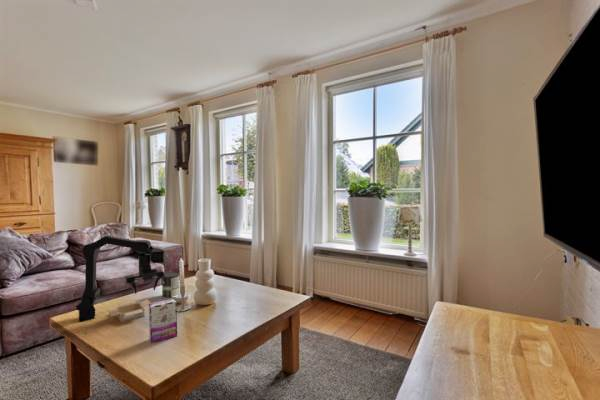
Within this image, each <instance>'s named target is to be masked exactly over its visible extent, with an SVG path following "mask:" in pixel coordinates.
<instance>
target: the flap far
mask: <svg viewBox="0 0 600 400" xmlns="http://www.w3.org/2000/svg"><path fill="white" fill-rule="evenodd" d="M139 303H140V304H141V305H142V306H143V307H144V308H145V307H149V304H152V302H151V301H150V300H148V299H147V298H146V299H145V300H142V301H140V302H139Z"/></svg>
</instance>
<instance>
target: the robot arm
mask: <svg viewBox="0 0 600 400" xmlns="http://www.w3.org/2000/svg"><path fill="white" fill-rule="evenodd" d="M106 245H112V246H118V247H124V248H129V249H132V250H134V251H135V252H136V251H137V252H136V253H135V254H134V255H133V256H134V257H138V275H134V274H130V275H125V276H124V279H123V281H124V282H125V283H126V284H128V285H130V286H131V287H132V290H133V292H134V295H137V286H136V285H137V284H136V283H137V282H136V280H143V281H145V282H146V281H148V280H153V281H152V282H153V287H152V288H153V291H155V290H156V288H157V285H158V283H159V280H160V279H161V280H162V277H164V274H165V272H164V271H163V270H161V269H156V268H155V269H152V265H151V263H153V264H163V263H166V256H167V255H166V252H165V250H164V249H163V250H156V249H155V248H154V247H153V245H152V243H151V241H149V240H147V239H136V240H135V239H129V238H128V239H127V238H123V237H118V236H112V235H105V236H103V237H102V238H100V239H98V240H95V241H93V242H90V243H87V244H85V245H84V246H83V247H82V249H81V250H82V257H83V258H84V260H85V275H84V276H85V277H84V278H85V281H84V283H85V284H84V285H85V286H84V287H85V288H84V291H83V293H82V295H81V299H80V301H79V303H78V304H77V305H76V306H75V309H76V310H77V311H78V317H77V318H78V322H79V323H82V322H86V321H89V320H93V319H96V308H95V305H94V304H96V302H97V300H98V299H99V298H100V296H101V288H100V287H99V288H98V287H97V259H98V256H99V253H100V250H101V248H102V247H104V246H106Z"/></svg>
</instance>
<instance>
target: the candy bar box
mask: <svg viewBox="0 0 600 400" xmlns="http://www.w3.org/2000/svg"><path fill="white" fill-rule="evenodd" d="M177 304H178V303H177V300H176V299H175V298H174V299H164V300H161V301H157V302H153V303H152V302H151V304H149V305H148V322H149V323H148V324H149V325H148V326H149V328H148V330H149V333H148V334H149V341H150V343H151V344H155V343H158V342H161V341H165V340H168V339H169V340H170V339H171V338H175V337H178V311H177Z"/></svg>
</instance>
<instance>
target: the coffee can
mask: <svg viewBox="0 0 600 400" xmlns="http://www.w3.org/2000/svg"><path fill="white" fill-rule="evenodd" d="M176 295H179V296H180V273H179V272H173V271H172V272H166V273H165V272H164V277H162V278H161V298H162V299H163V300H170V299H173V296H176Z"/></svg>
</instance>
